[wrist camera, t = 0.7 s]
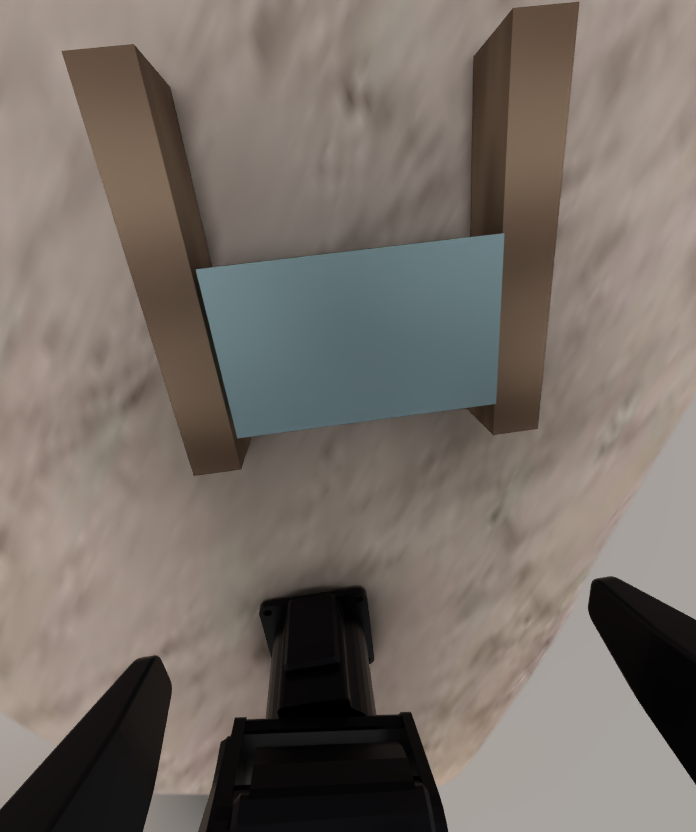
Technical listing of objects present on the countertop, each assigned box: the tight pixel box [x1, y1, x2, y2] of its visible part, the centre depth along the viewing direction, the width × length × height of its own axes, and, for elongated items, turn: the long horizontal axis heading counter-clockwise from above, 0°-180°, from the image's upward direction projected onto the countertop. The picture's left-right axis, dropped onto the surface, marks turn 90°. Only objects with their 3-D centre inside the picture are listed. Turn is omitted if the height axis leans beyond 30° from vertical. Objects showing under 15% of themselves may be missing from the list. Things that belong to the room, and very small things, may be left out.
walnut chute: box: [62, 2, 579, 476], centre depth 15 cm, size 14×15×3 cm
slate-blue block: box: [196, 233, 504, 438], centre depth 15 cm, size 6×10×4 cm, turn 96°
